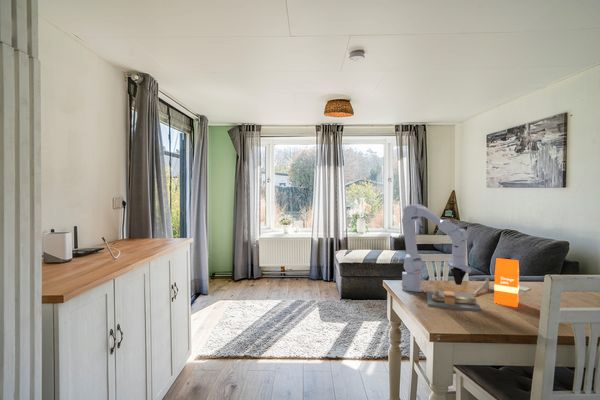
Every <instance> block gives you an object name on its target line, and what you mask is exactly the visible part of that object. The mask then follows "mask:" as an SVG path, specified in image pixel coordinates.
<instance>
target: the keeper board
mask: <svg viewBox="0 0 600 400" xmlns="http://www.w3.org/2000/svg"><path fill="white" fill-rule="evenodd" d="M435 291H436V290H426V291H425V294H426V301H427V306H428V307H435V308H445V309H454V310H464V311H473V312H482V308H481V306H480V304H479V303H478V301H477V300H476V304H469V303H458V302H455V296H457V297H469V298H475V296H473V293H472V294H469V293H460V292H459V293H458V292H454V291H448V290H443V291H438V292H439V295H444V296H445V301H435V300H432V295H433V294H435Z"/></svg>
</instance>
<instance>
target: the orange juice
mask: <svg viewBox="0 0 600 400" xmlns="http://www.w3.org/2000/svg"><path fill="white" fill-rule="evenodd" d="M494 269H495V270H494V287H493V288H494V299H493V300H494V301H493V302H494V304H496V303H497V305H503V306H509V307H513V308H518V305H519V301H520V300H519V296H520V295H519V292H520V290H519V286H520V264H519V259H507V258H499V257H498V258H497V257H496V260H495V267H494Z"/></svg>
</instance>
